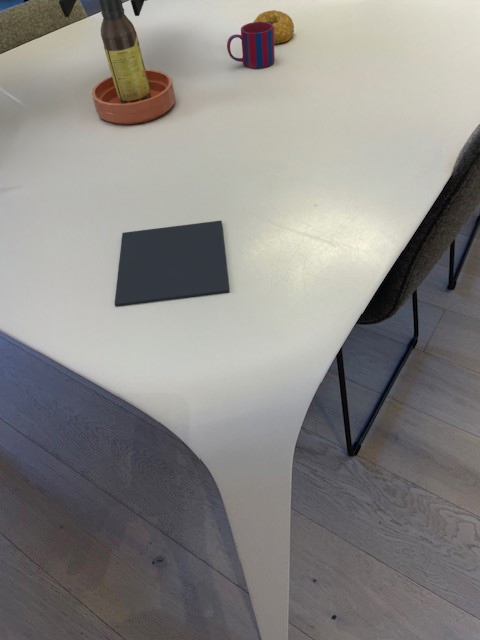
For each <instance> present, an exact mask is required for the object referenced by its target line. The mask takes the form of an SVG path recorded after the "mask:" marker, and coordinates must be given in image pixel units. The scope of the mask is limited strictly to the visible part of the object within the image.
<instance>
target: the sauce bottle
mask: <svg viewBox="0 0 480 640" xmlns="http://www.w3.org/2000/svg"><path fill="white" fill-rule="evenodd" d="M98 4H99V7H100V11H101V13H100V14H101V15H102V17H103V18H102V22H101V26H100V36H101V39H102V44H103V49H104V50H103V51H104V53H105V56H106V61H107V63H108V67H109V71H110V74H111V76H112V78H113V81H114V85H115V88H116V92H117V95H118V98H119V99H120V104H125V103H133V102H138V101H142V100H146V99H149V98H151V96H150V88H149V83H148V79H147V75H146V71H145V70H146V67H145V63H144V60H143V59H144V58H143V54H142V50H141V46H140V41H139V37H138V33H137V31H136V28H135V27H134V24H133V22H132V21H131V19H129V17H127V15H126V14H125V8H124V6H123V1H122V0H98Z"/></svg>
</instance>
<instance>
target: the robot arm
mask: <svg viewBox="0 0 480 640" xmlns="http://www.w3.org/2000/svg"><path fill="white" fill-rule="evenodd" d="M146 1H148V0H130V4H131V7H132V11H133V14H134V16H135V17H139V16H140V14H141V11H142V9H143V7H144V4H145V2H146ZM76 2H77V0H59V1H58V4H59V7H60V9H61V11H62V13H63V15H64V18H70V15H71V13H72V11H73V9H74V7H75V4H76Z"/></svg>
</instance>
